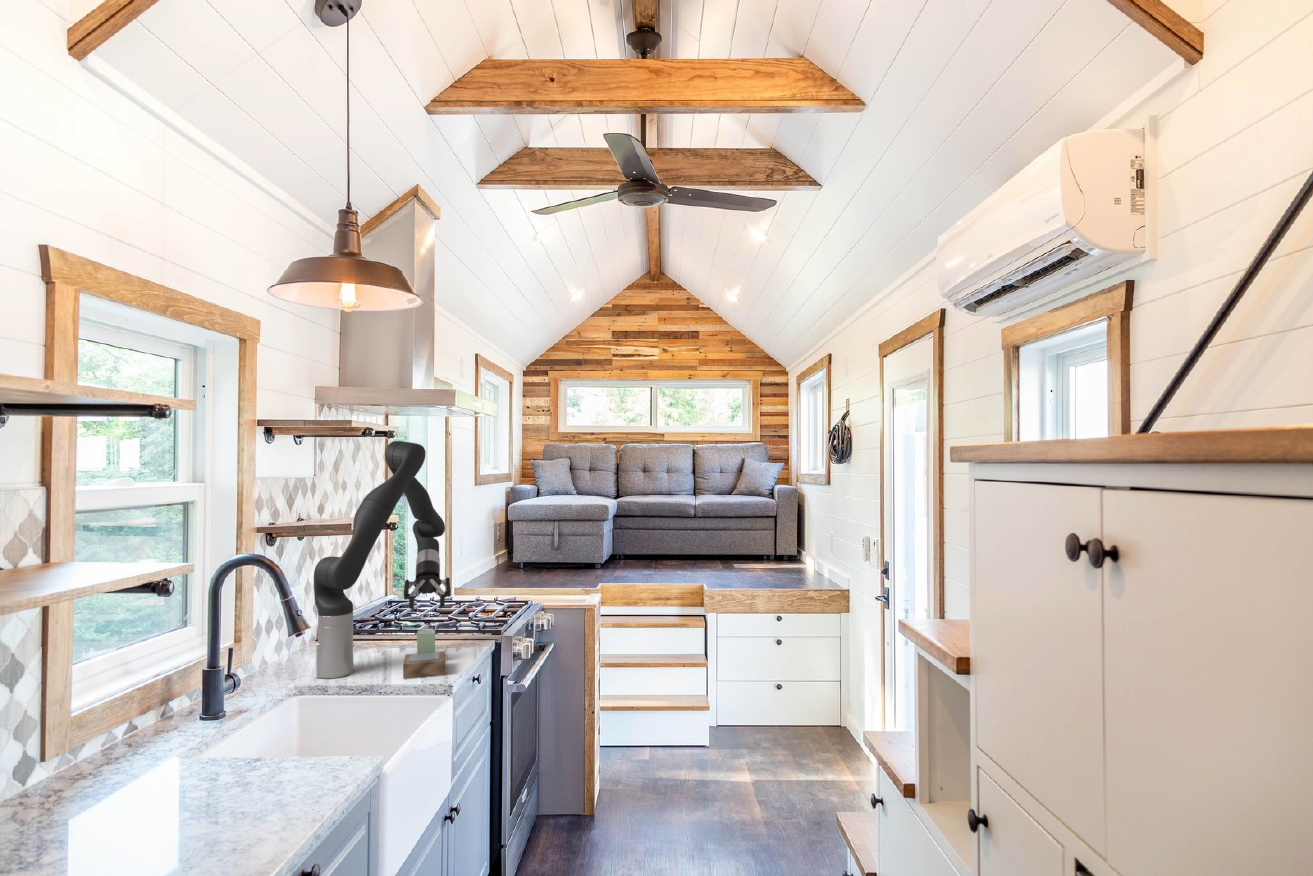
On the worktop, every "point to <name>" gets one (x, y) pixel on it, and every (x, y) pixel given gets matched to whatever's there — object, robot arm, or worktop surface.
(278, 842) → the worktop surface
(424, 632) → the sage block
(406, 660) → the block
